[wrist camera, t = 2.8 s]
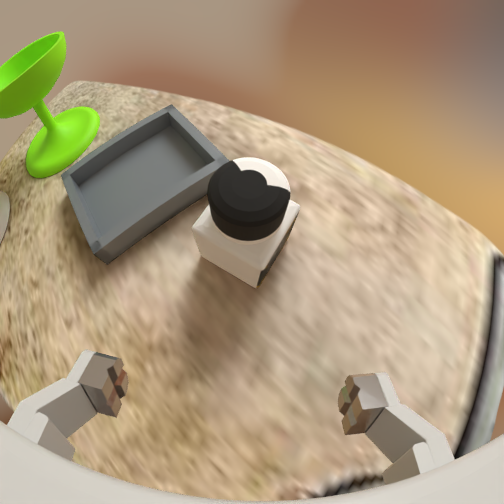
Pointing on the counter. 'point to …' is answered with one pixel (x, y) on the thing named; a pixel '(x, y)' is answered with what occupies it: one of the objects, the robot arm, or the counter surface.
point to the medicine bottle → (246, 218)
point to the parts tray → (140, 180)
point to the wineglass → (31, 94)
